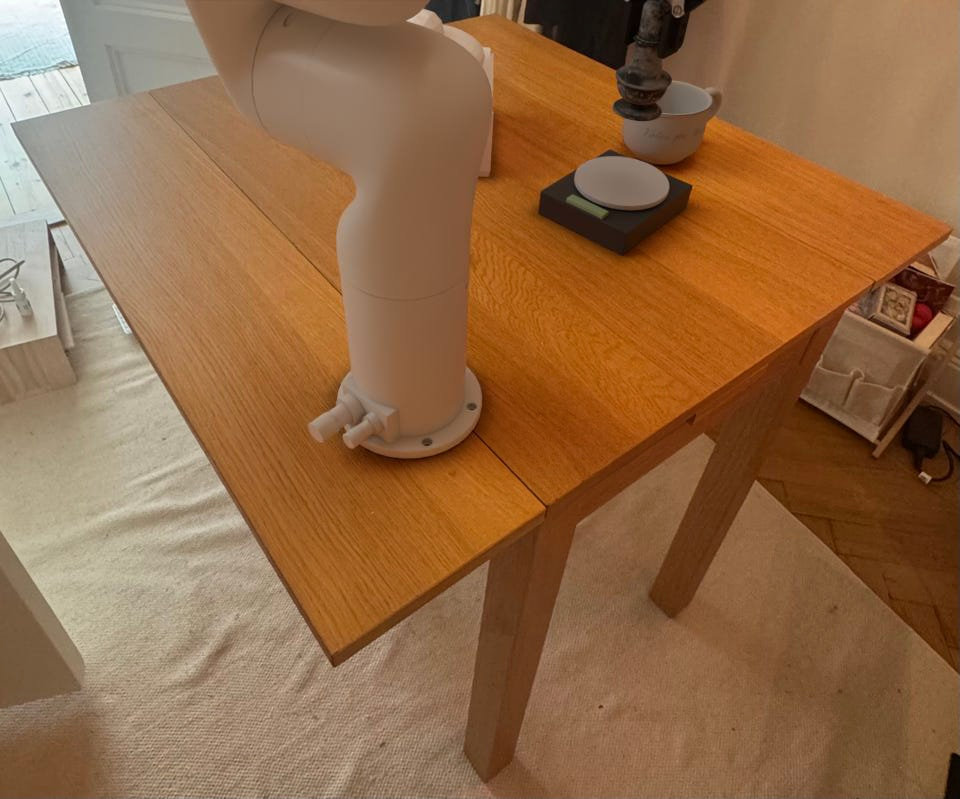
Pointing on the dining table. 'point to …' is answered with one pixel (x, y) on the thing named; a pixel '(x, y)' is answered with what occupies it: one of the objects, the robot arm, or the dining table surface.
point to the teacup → (673, 124)
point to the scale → (614, 200)
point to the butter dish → (479, 52)
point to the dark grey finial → (644, 68)
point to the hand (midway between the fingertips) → (649, 46)
